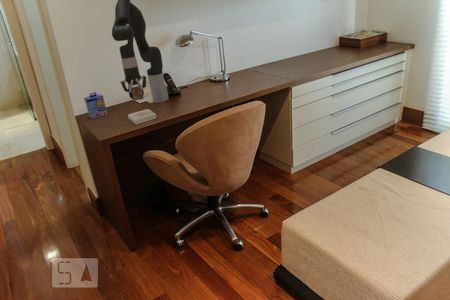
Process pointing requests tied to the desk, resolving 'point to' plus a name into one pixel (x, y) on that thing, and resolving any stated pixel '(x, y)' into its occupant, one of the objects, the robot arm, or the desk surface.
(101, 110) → the ink cartridge box
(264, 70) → the desk surface
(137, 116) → the riser
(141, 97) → the block
